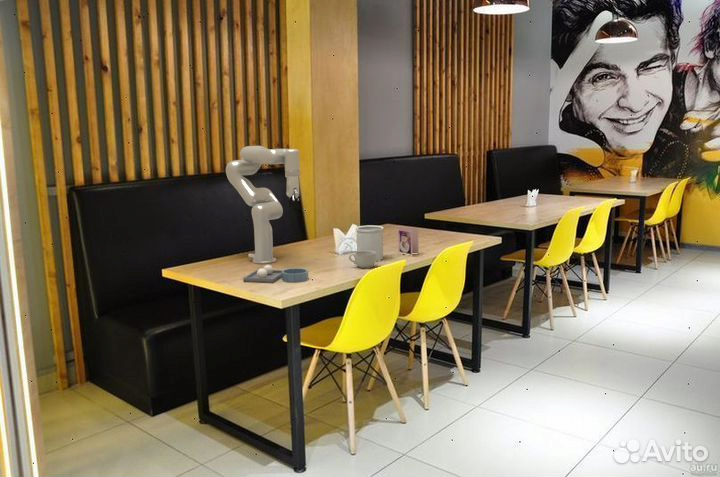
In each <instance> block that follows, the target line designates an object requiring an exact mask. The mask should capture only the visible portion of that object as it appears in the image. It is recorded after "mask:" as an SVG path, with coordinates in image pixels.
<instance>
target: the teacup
mask: <svg viewBox="0 0 720 477" xmlns="http://www.w3.org/2000/svg"><path fill="white" fill-rule="evenodd" d="M352 256H354V260H353V259H352ZM348 259H349V261H350V262H352V263H353V264H354V265H356V266H357V267H358V268H361V269H371V268H372V267H373V266H375V264H376V261H375V260H376V252H375V251H371V250H359V251H357V250H356V251H355V252H354V253H351V252H350V254H349V255H348Z"/></svg>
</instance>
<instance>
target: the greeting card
mask: <svg viewBox="0 0 720 477" xmlns="http://www.w3.org/2000/svg"><path fill="white" fill-rule="evenodd" d="M397 228H398V229H397V233H398V240H397V241H398V243H397V244H398V249H397V250H398V252H401V253H406V254H410V255H412V256H413V254H412V253H418V254H419V227H397Z"/></svg>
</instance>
